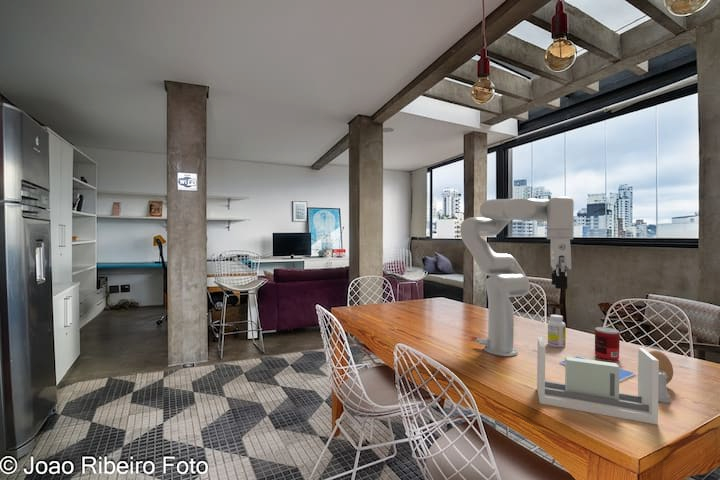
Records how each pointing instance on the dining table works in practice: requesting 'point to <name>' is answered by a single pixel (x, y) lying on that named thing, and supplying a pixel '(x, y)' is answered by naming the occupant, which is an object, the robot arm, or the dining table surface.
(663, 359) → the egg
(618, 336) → the canned food
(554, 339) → the supplement bottle
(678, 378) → the dining table surface
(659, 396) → the rook chess piece
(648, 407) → the cabinet base
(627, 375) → the tablet computer
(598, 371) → the door panel
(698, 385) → the dining table surface
